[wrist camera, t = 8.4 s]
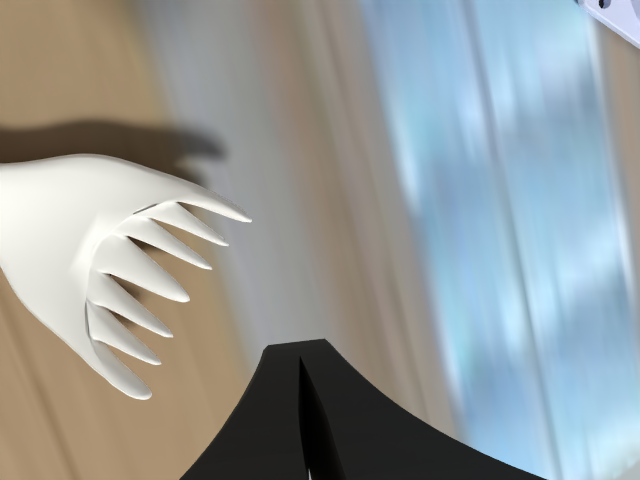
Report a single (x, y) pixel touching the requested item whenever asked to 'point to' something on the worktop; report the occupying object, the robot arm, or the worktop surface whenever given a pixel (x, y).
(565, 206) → the worktop surface
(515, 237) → the worktop surface
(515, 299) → the worktop surface
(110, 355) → the white plastic utensil
